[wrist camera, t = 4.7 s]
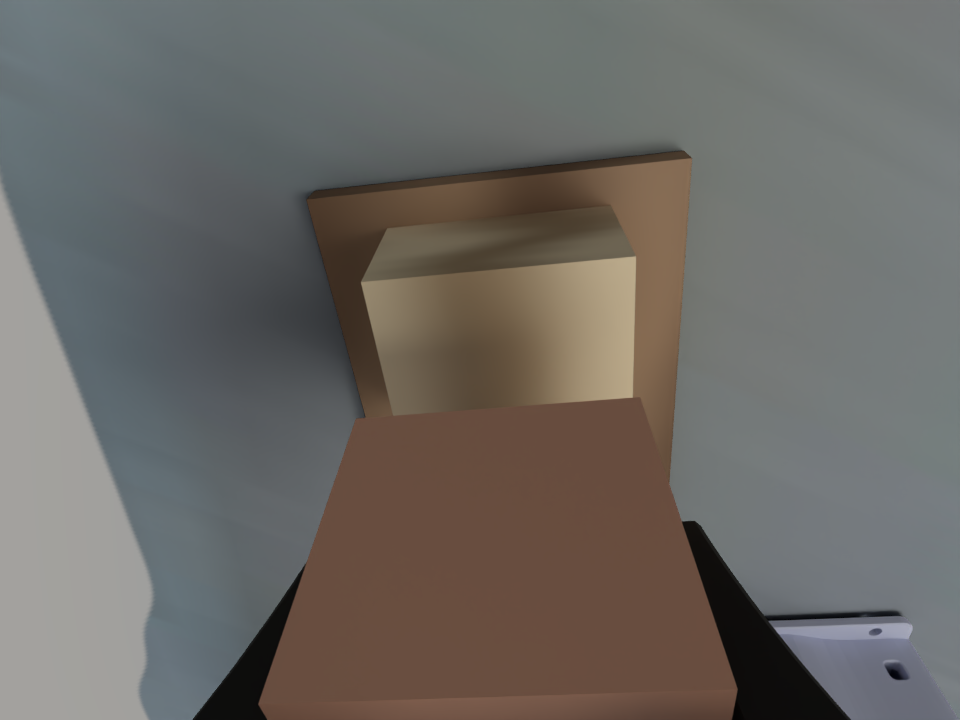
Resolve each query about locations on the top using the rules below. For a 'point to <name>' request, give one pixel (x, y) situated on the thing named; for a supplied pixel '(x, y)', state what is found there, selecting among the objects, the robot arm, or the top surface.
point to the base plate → (609, 182)
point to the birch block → (504, 311)
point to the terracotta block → (501, 577)
